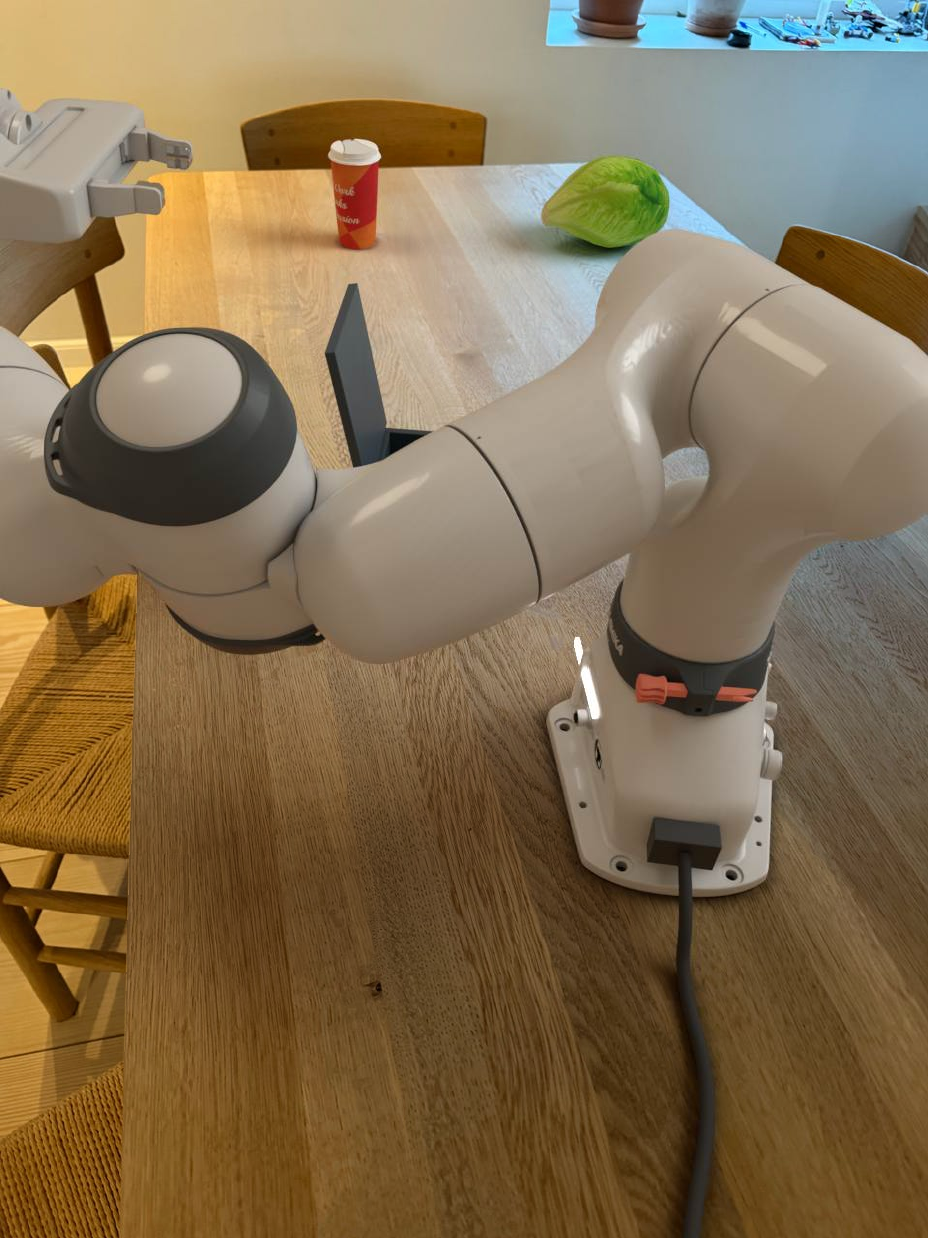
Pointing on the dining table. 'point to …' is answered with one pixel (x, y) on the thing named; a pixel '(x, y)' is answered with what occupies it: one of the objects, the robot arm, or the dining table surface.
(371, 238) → the paper cup
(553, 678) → the dining table surface
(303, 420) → the dining table surface
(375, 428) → the chest lid
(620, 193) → the lettuce
